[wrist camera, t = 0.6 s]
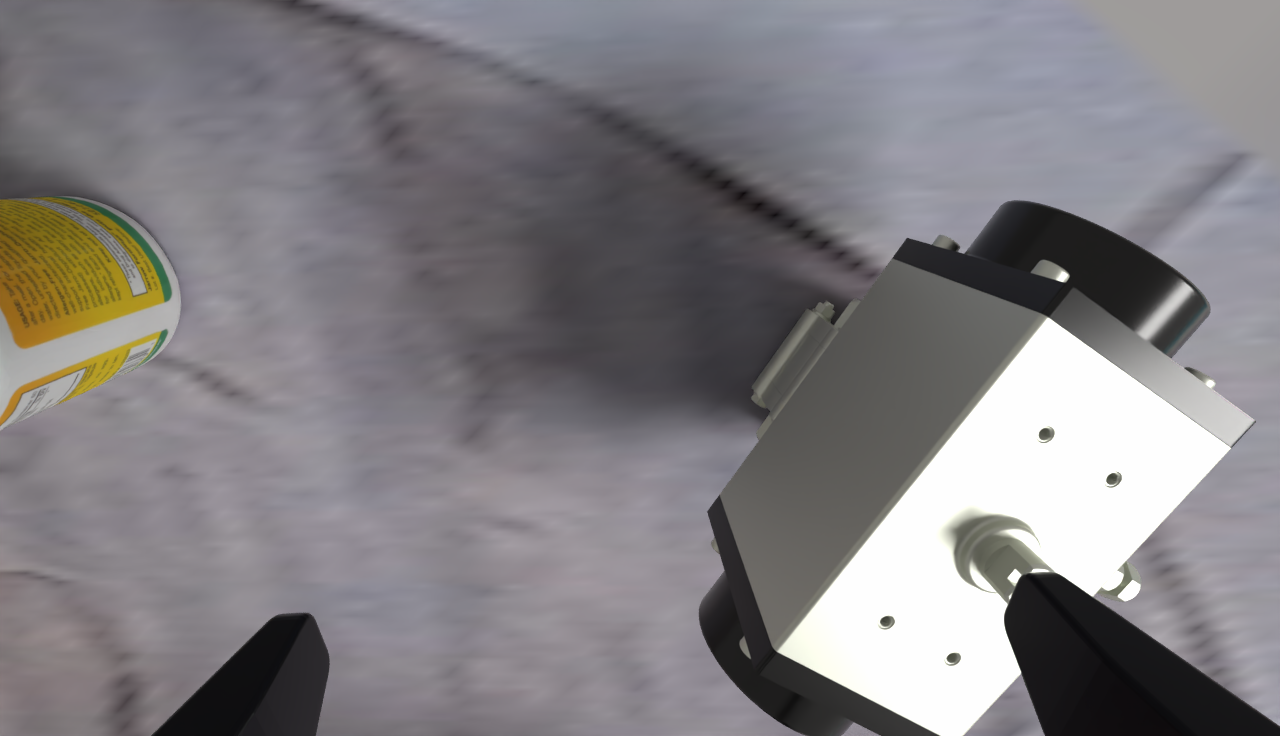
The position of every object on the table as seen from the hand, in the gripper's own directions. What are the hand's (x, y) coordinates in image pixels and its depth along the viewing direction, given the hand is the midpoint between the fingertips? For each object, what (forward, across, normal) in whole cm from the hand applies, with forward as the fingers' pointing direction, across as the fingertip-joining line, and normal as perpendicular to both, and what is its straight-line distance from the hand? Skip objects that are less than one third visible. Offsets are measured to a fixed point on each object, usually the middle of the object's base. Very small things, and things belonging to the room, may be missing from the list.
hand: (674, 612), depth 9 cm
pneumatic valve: (+13, -7, +5) cm, 16 cm away
